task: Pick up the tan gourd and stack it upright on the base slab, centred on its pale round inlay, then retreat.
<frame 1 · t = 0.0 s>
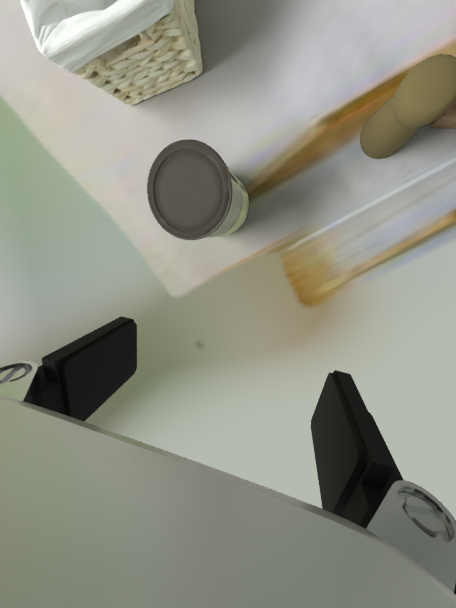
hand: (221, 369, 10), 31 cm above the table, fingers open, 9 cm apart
storage basket: (145, 8, 32), on the table
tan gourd: (384, 133, 30), on the table
coffee can: (220, 206, 38), on the table
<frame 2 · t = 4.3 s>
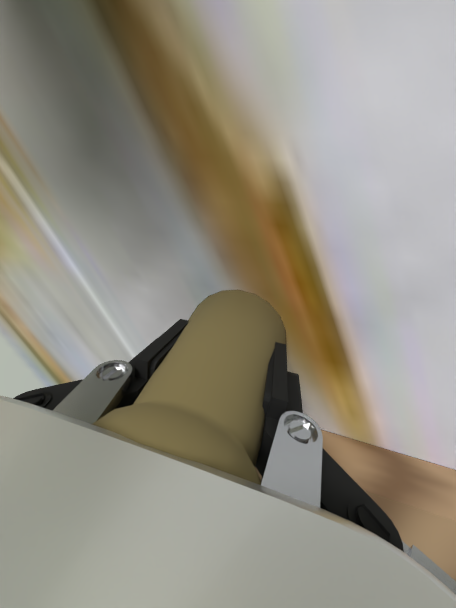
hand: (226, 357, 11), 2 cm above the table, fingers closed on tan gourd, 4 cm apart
base: (325, 518, 16), on the table
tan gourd: (236, 335, 14), on the table, touching gripper
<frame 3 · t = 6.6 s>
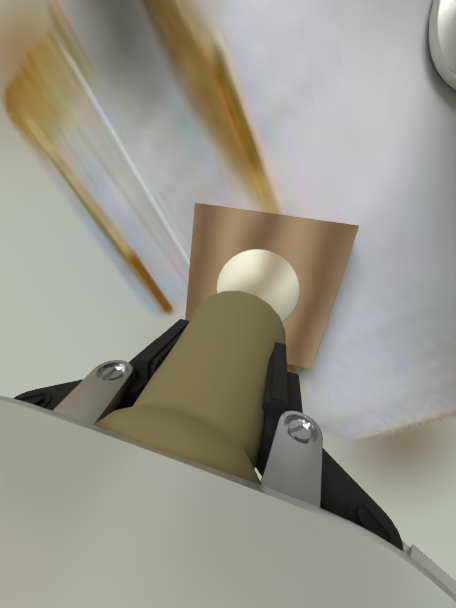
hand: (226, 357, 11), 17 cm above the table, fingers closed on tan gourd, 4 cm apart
base: (259, 285, 27), on the table
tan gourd: (236, 336, 14), point 14 cm above the table, touching gripper
when the fingers open (7 cm above the table, at t = 9.1 s): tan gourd drops 1 cm, resting on base.
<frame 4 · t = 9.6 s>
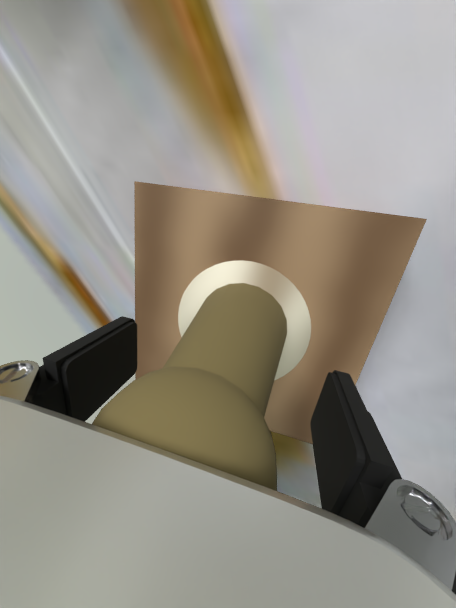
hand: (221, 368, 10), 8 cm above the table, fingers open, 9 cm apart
base: (246, 312, 17), on the table
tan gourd: (241, 325, 15), point 3 cm above the table, touching base
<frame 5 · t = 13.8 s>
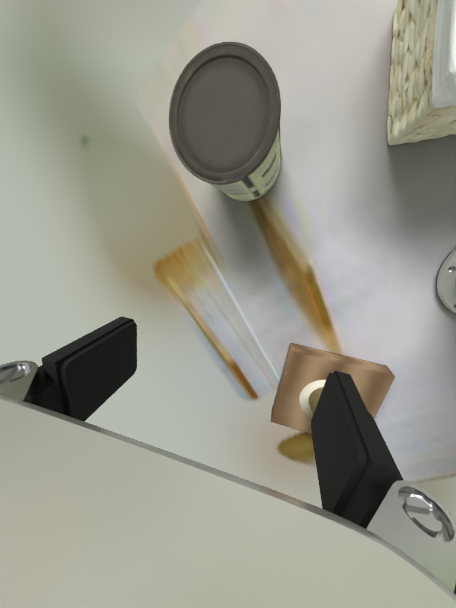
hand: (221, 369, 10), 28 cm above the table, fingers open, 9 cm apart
base: (323, 390, 41), on the table
coffee can: (246, 164, 32), on the table
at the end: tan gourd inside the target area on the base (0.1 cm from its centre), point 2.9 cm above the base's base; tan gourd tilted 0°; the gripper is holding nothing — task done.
